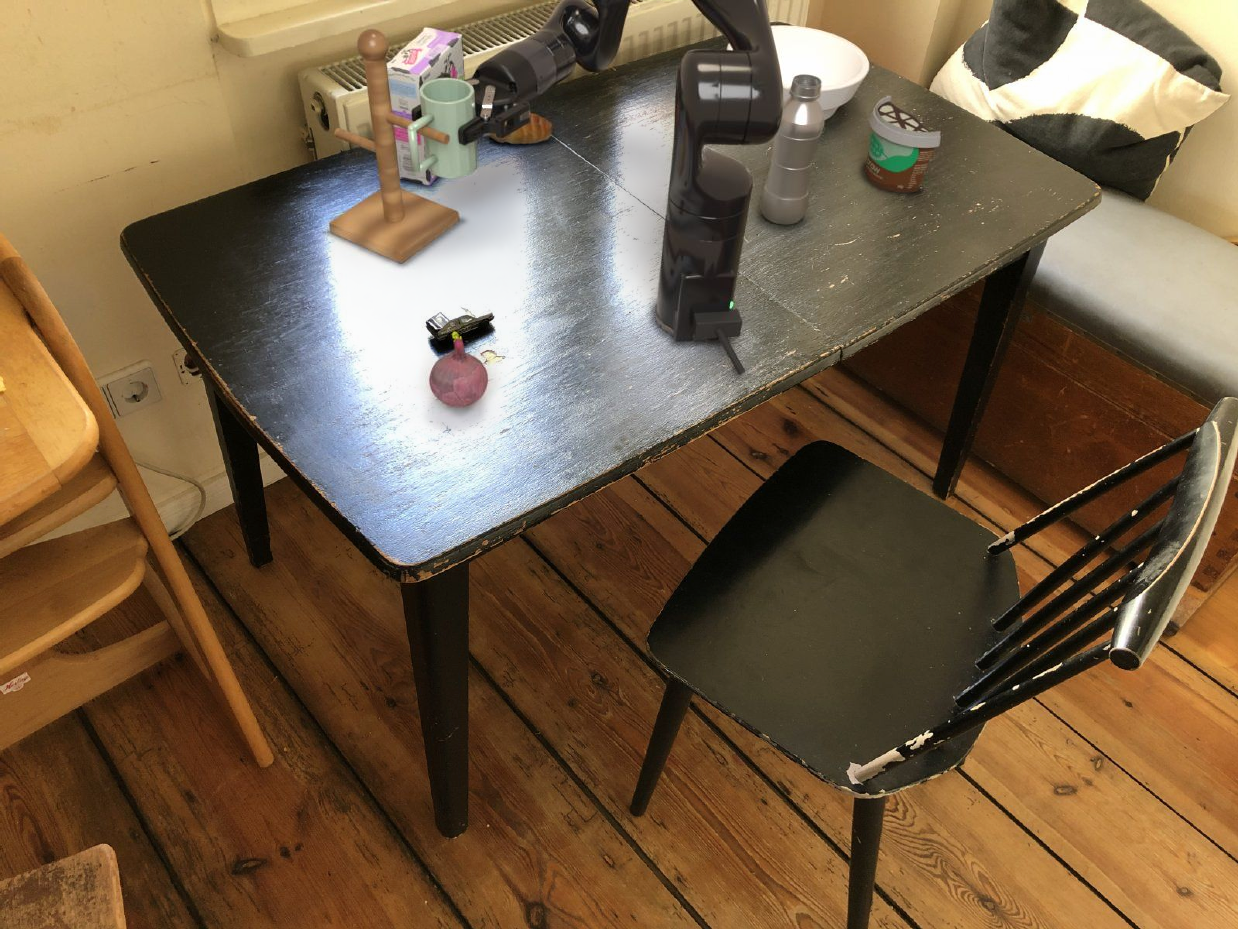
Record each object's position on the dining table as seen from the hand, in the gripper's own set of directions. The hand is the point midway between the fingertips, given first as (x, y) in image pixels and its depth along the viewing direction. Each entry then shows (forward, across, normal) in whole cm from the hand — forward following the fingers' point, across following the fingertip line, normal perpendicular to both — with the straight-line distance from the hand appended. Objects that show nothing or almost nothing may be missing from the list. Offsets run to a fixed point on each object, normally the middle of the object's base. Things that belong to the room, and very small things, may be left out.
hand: (437, 128), depth 123 cm
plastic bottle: (-30, +35, +16) cm, 49 cm away
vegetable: (+25, +22, +15) cm, 37 cm away
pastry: (-27, -8, +16) cm, 32 cm away
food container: (-49, +43, +16) cm, 67 cm away
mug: (0, 0, +6) cm, 6 cm away
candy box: (-14, -13, +15) cm, 25 cm away
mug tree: (+3, -6, +15) cm, 17 cm away
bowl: (-61, +22, +16) cm, 67 cm away
